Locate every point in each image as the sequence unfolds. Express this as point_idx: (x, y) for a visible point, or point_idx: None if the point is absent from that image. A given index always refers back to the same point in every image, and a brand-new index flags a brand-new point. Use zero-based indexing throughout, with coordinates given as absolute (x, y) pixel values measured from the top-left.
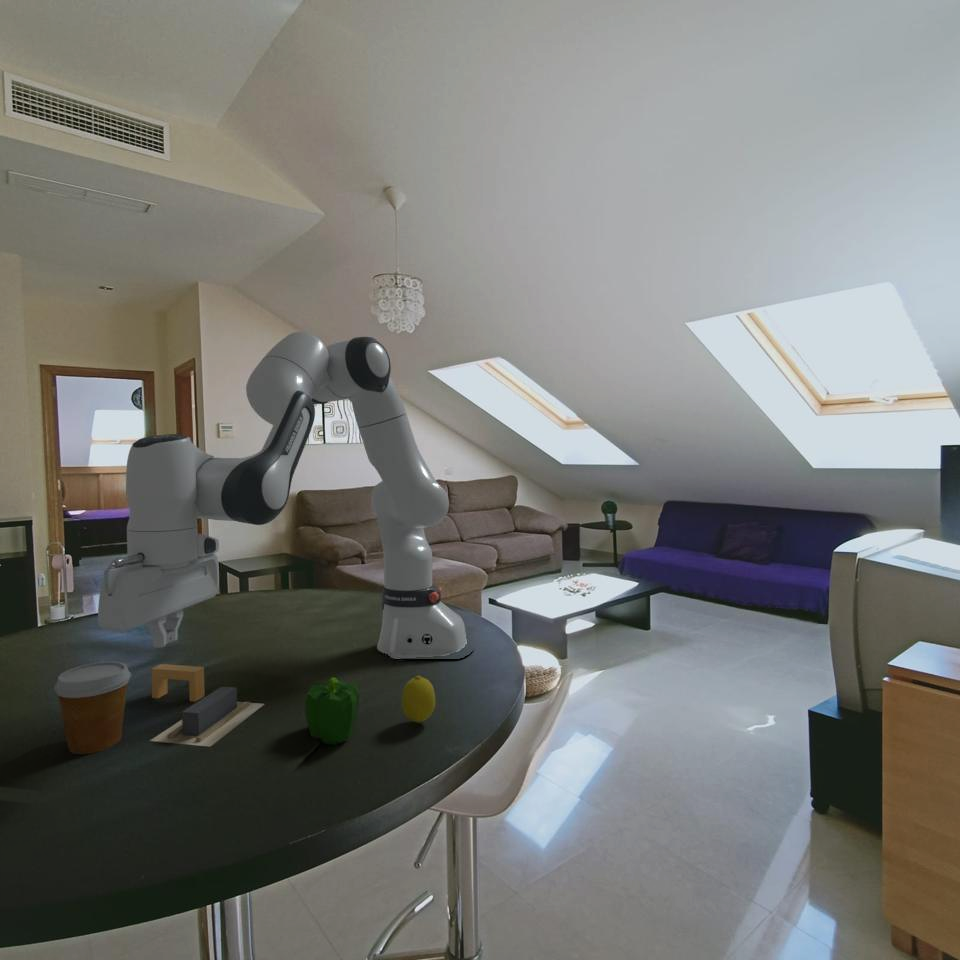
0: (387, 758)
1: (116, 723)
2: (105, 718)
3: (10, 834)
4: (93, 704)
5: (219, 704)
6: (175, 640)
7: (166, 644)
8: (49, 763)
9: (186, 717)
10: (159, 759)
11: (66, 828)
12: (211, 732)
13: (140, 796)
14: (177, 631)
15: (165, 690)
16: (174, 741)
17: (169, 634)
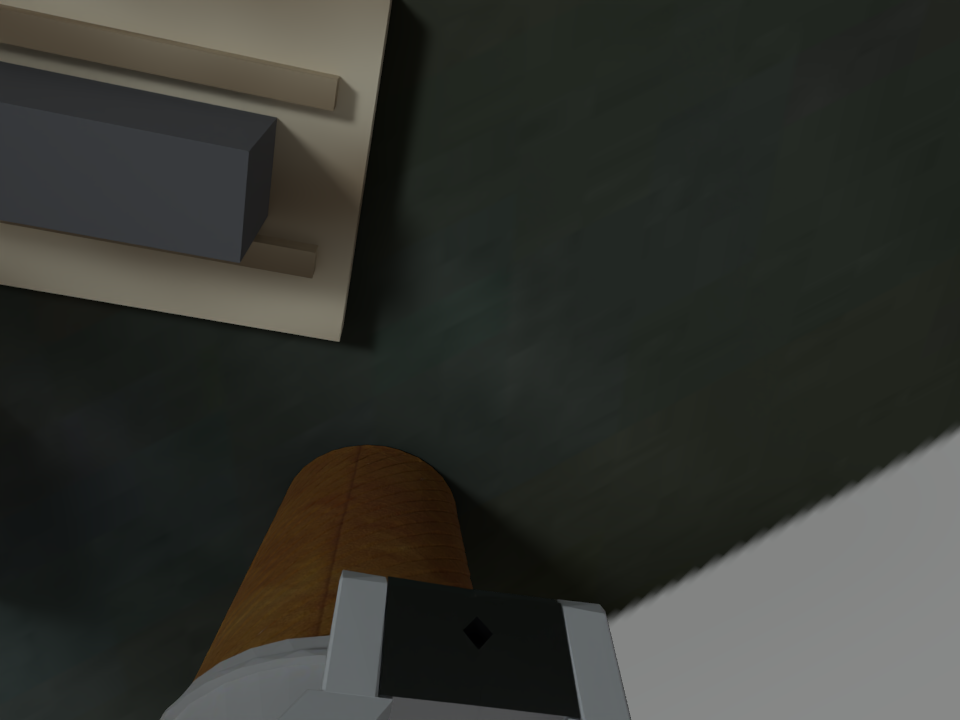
0: None
1: (376, 515)
2: (430, 563)
3: (901, 457)
4: None
5: (27, 96)
6: (376, 577)
7: (543, 601)
8: None
9: (249, 223)
10: (441, 233)
11: (917, 314)
12: (241, 55)
13: (753, 157)
14: (327, 660)
15: None
16: (341, 222)
17: (500, 687)
